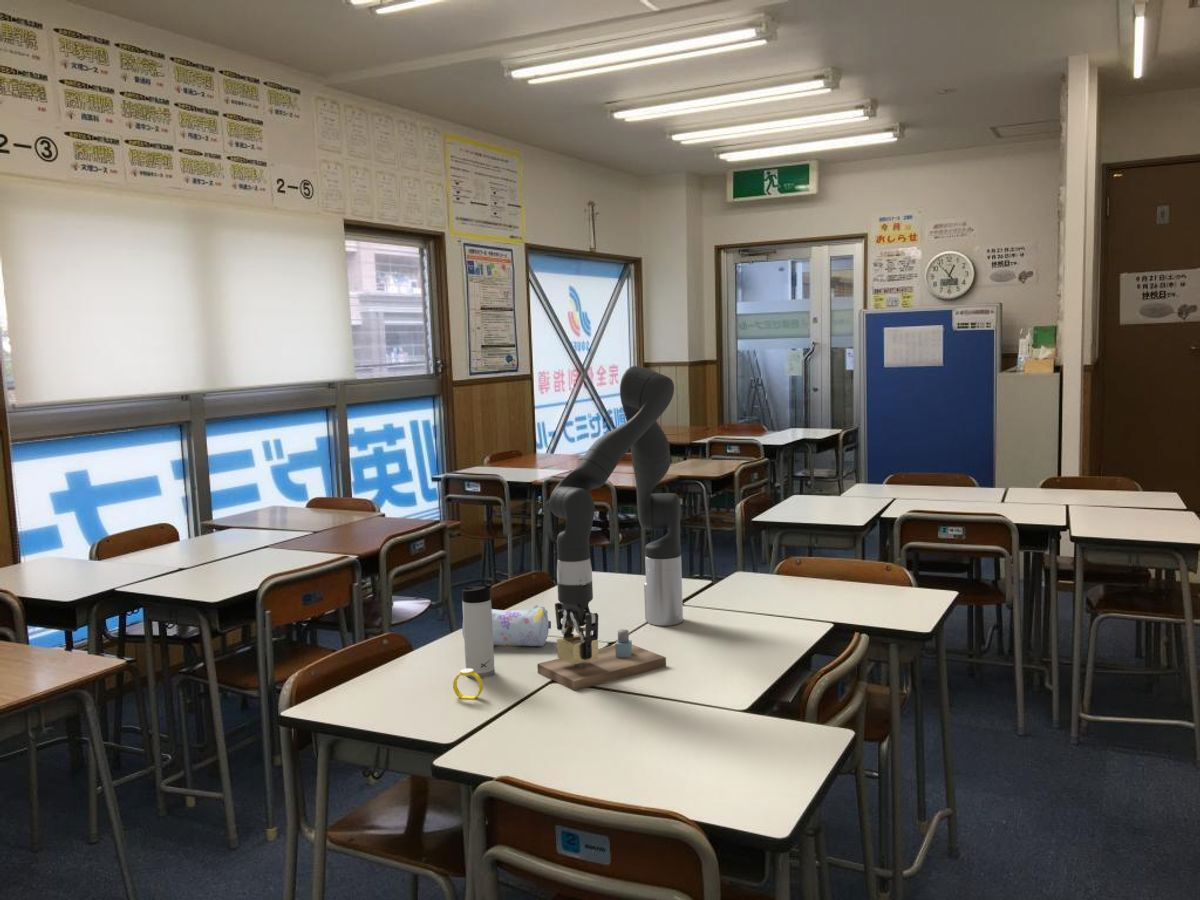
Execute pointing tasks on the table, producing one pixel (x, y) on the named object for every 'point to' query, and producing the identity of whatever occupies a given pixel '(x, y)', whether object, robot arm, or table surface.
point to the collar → (574, 650)
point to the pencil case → (520, 627)
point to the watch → (465, 673)
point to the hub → (623, 644)
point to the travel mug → (478, 629)
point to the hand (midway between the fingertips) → (577, 654)
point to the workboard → (601, 667)
